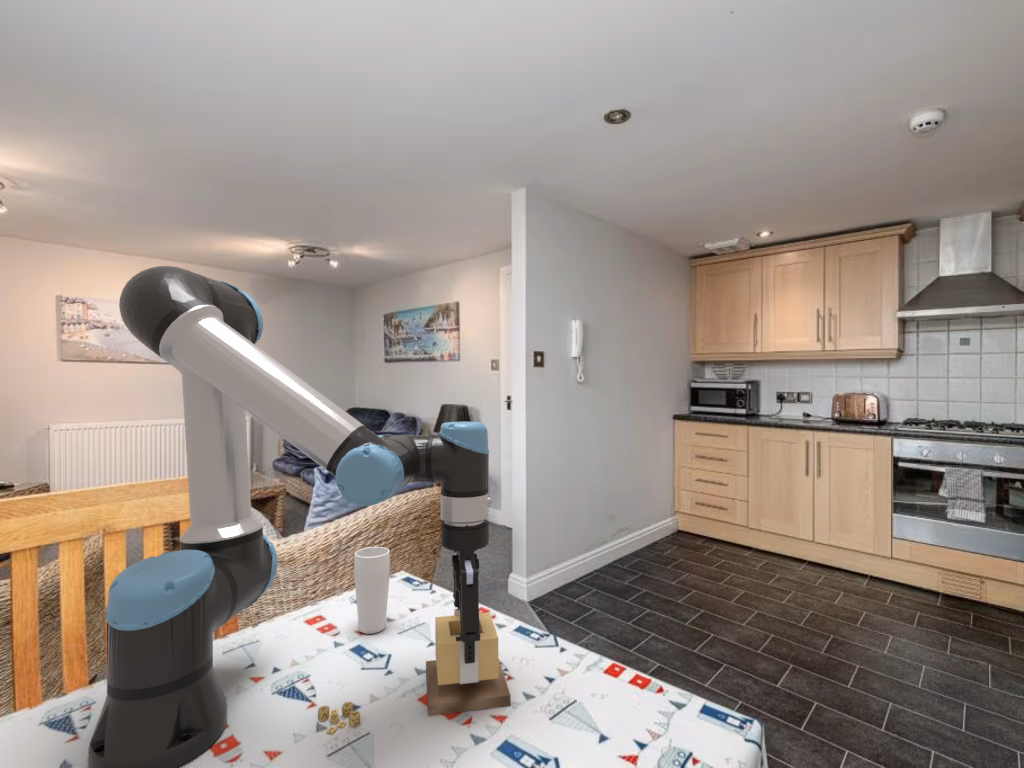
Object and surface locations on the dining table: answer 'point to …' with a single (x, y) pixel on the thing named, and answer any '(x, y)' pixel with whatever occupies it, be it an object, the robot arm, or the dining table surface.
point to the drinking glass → (372, 588)
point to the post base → (464, 693)
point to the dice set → (346, 712)
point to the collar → (450, 649)
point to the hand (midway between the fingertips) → (465, 664)
